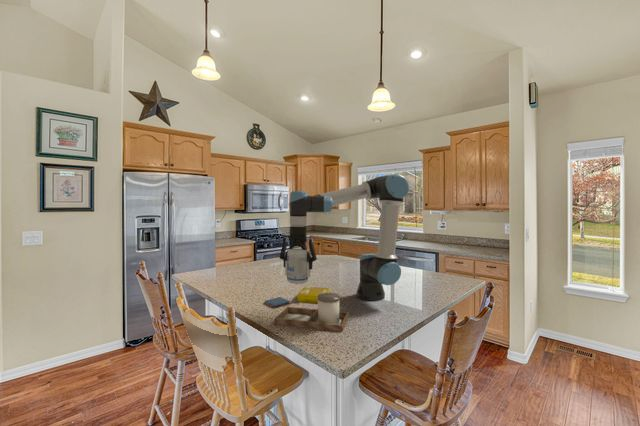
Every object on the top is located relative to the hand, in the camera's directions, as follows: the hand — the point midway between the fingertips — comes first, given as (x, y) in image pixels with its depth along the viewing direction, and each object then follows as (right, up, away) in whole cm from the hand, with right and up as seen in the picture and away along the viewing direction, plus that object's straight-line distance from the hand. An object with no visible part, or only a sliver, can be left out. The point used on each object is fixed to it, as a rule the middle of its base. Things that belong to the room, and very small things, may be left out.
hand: (297, 275), depth 134 cm
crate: (+7, -18, -7) cm, 21 cm away
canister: (+14, -18, -9) cm, 24 cm away
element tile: (+7, -18, +25) cm, 31 cm away
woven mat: (-11, -18, +17) cm, 27 cm away
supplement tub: (0, -3, 0) cm, 3 cm away
